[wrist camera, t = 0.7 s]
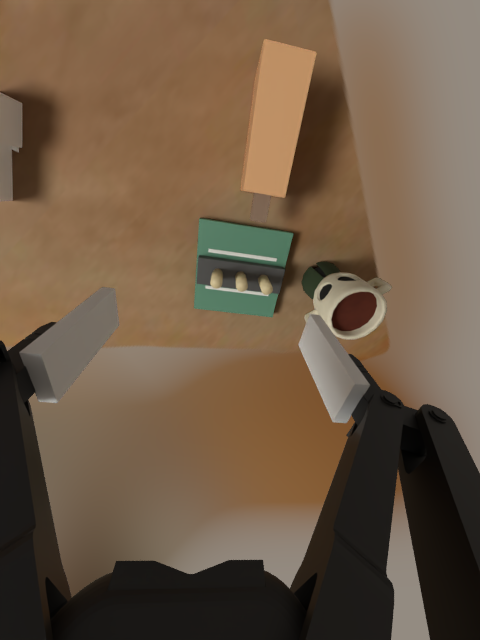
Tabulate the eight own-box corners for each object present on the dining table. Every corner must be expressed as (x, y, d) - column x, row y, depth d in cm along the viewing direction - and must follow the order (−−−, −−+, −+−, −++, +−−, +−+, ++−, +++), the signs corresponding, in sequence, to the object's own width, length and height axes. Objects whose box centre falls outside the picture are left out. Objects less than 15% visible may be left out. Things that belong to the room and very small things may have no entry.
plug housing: (237, 214, 33) (239, 219, 27) (255, 74, 26) (264, 38, 20) (269, 219, 33) (278, 225, 27) (296, 84, 26) (316, 51, 20)
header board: (200, 217, 33) (194, 223, 27) (290, 232, 34) (304, 240, 28) (195, 304, 40) (189, 325, 33) (271, 313, 41) (278, 334, 35)
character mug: (342, 242, 35) (396, 266, 24) (356, 279, 39) (409, 315, 27) (281, 278, 38) (303, 315, 27) (298, 310, 41) (325, 355, 30)
